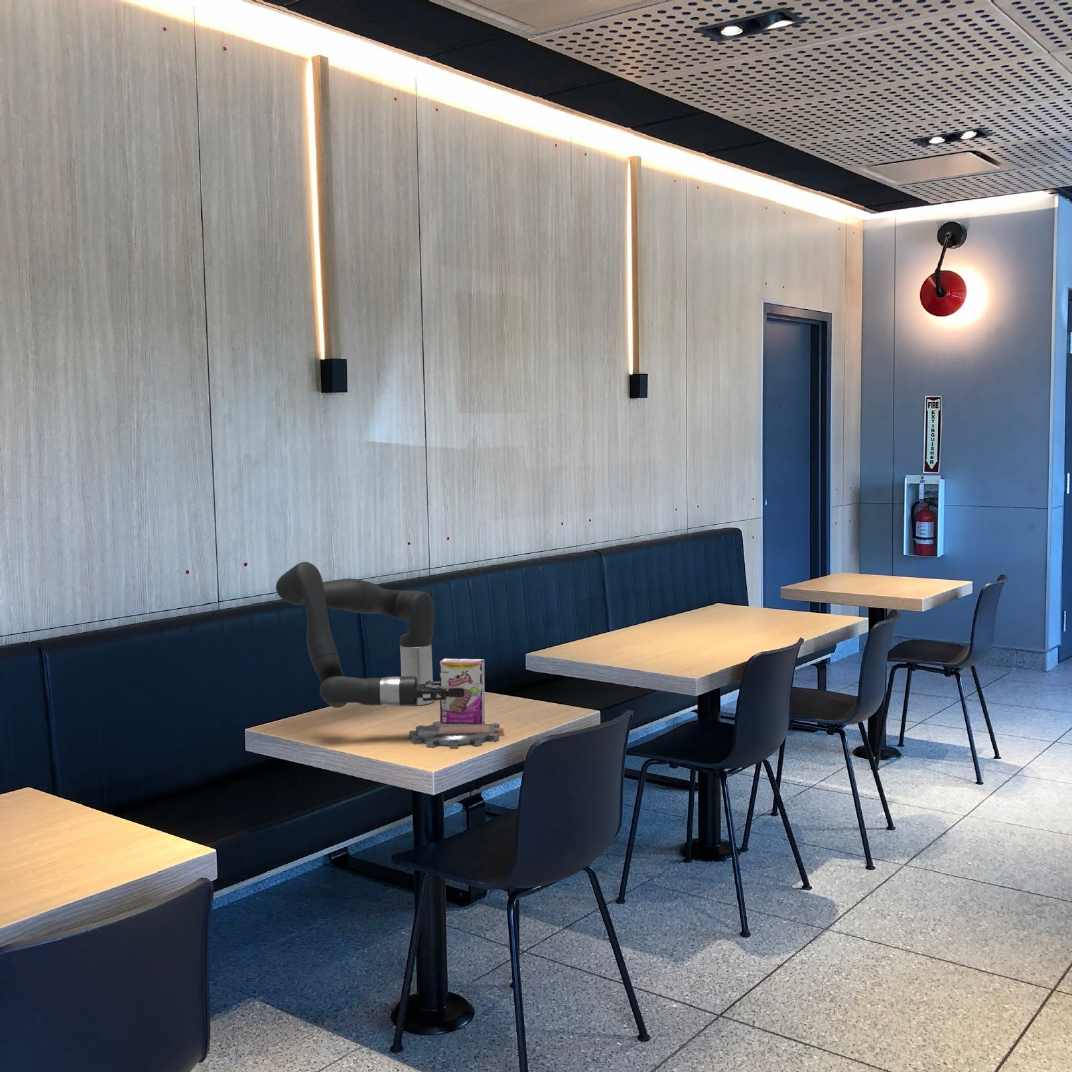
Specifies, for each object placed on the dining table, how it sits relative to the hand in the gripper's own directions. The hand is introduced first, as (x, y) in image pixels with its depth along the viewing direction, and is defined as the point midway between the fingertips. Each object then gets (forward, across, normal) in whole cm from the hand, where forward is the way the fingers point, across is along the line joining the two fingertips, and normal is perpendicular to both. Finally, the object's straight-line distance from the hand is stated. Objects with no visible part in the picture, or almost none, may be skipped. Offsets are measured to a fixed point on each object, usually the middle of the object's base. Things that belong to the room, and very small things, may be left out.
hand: (464, 690), depth 288 cm
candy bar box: (-1, 0, +9) cm, 9 cm away
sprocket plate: (-2, 0, +12) cm, 12 cm away
